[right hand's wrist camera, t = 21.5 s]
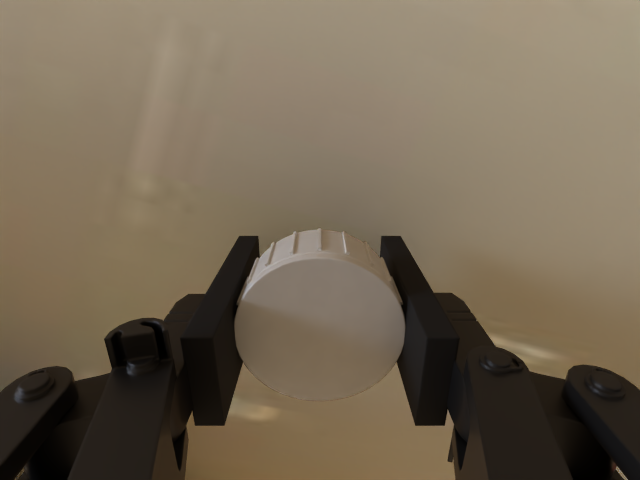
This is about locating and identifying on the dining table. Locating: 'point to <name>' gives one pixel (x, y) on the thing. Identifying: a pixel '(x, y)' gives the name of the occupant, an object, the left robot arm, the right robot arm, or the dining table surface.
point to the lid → (319, 317)
